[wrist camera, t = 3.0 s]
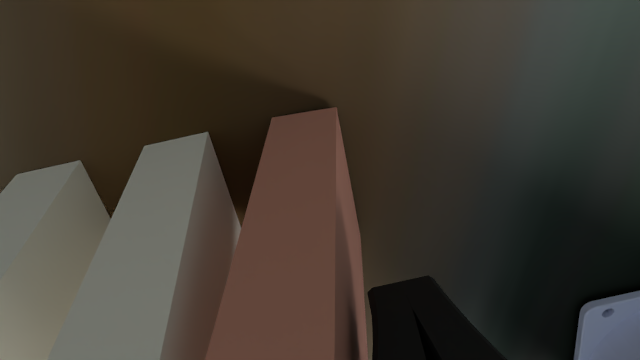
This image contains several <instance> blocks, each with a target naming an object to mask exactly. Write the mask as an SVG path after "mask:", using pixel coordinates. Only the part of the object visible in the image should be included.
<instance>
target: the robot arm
mask: <svg viewBox="0 0 640 360" xmlns="http://www.w3.org/2000/svg"><path fill="white" fill-rule="evenodd" d="M368 298H369V303H370V308H371V314H372V325H373V355H372V360H507V359H506V358H505V357H504V356H503V355H502V354H501V353H500V352H499V351H498V350H497V349H496V348H495V347H494V346H493V345H492V344H491V343H490V342H489V341H488V340H487V339H486V338H485V337H484V336H483V335H482V334H481V333H480V332H479V331H478V330H477V329H476V328H475V327H474V326H473V325H472V324H471V323H470V321H469V320H468V319H467V318H466V317H465V316H464V315H463V314H462V313H461V311H460V310H459V309H458V308H457V307H456V306H455V305H454V304H453V302H452V301H451V300H450V299H449V298H448V296H447V295H446V294H445V293H444V292H443V290H442V289H441V288H440V286H439V285H438V284H437V283H436V281H435V280H434V279H433V278H432V277H430V276H424V277H419V278H415V279H410V280H406V281H401V282H397V283H392V284H387V285H383V286H378V287H374V288H372V289H371V290H370V291H369V292H368ZM574 360H640V291H635V292H631V293H626V294H622V295H617V296H613V297H608V298H603V299H599V300H594V301H591V302H588V303H586V304H585V305H584V306H583V307H582V308H581V310H580V314H579V322H578V330H577V338H576V346H575V354H574Z"/></svg>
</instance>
